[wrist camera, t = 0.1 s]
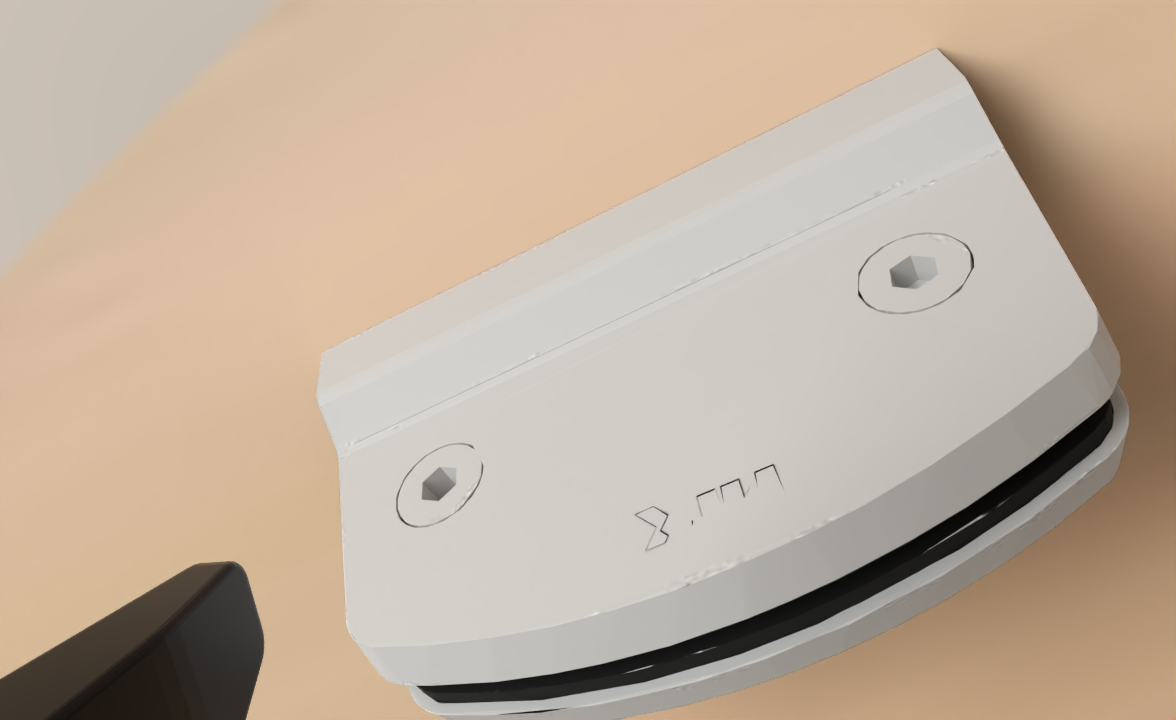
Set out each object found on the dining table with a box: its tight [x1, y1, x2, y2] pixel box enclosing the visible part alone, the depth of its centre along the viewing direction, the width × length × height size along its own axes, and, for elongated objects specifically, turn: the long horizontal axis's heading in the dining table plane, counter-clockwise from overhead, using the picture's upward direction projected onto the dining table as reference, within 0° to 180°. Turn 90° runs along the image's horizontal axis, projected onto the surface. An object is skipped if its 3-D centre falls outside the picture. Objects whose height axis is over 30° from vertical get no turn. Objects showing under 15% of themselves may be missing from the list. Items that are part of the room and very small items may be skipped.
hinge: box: [317, 48, 1130, 720], centre depth 20 cm, size 17×5×10 cm, turn 117°
